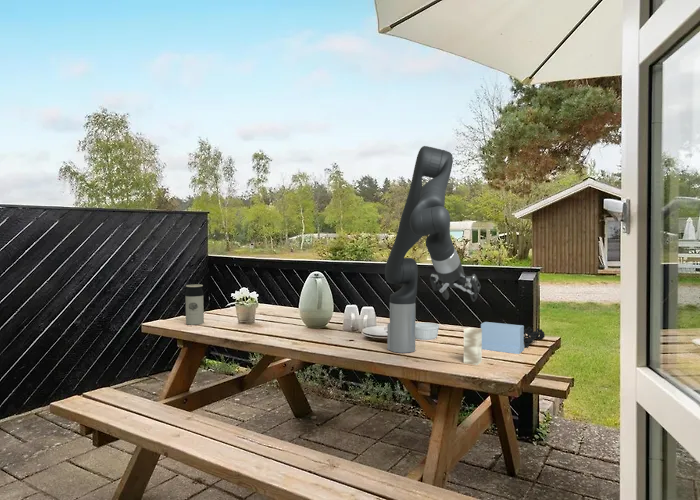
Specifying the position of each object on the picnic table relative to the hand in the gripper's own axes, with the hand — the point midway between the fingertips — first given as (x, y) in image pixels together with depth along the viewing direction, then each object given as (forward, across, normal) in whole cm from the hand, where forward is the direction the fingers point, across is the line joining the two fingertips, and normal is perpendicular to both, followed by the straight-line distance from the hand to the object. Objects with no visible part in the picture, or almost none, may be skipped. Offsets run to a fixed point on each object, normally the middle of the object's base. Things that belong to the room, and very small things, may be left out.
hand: (460, 298), depth 153 cm
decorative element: (+52, -9, -20) cm, 56 cm away
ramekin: (+43, +29, -12) cm, 53 cm away
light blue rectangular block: (+40, -3, -9) cm, 41 cm away
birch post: (+24, 0, +8) cm, 25 cm away
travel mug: (+22, +132, +8) cm, 134 cm away
